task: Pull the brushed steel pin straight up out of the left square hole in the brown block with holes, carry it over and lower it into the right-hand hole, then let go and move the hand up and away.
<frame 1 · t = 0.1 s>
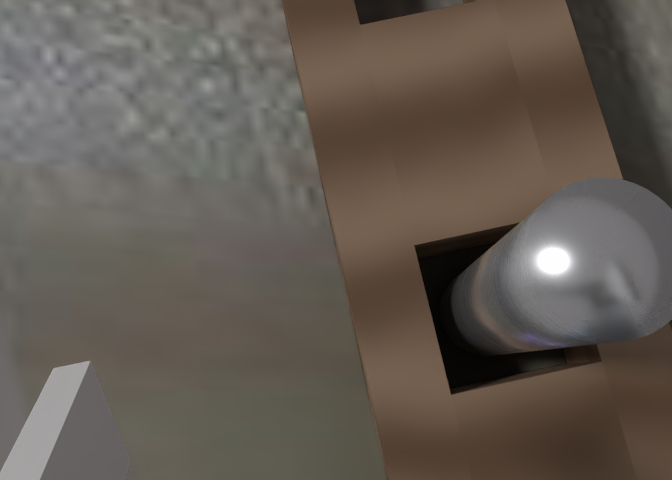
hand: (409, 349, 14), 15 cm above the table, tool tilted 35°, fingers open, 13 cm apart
brown block with holes: (441, 149, 31), on the table
steel pin: (484, 311, 29), resting in brown block with holes
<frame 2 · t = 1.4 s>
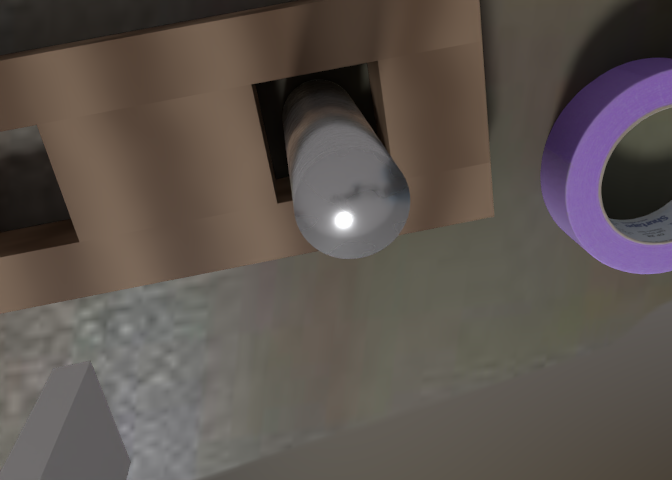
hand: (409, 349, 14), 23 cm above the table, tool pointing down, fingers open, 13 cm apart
brown block with holes: (173, 144, 34), on the table
steel pin: (319, 116, 34), resting in brown block with holes
masking tape: (632, 157, 38), on the table
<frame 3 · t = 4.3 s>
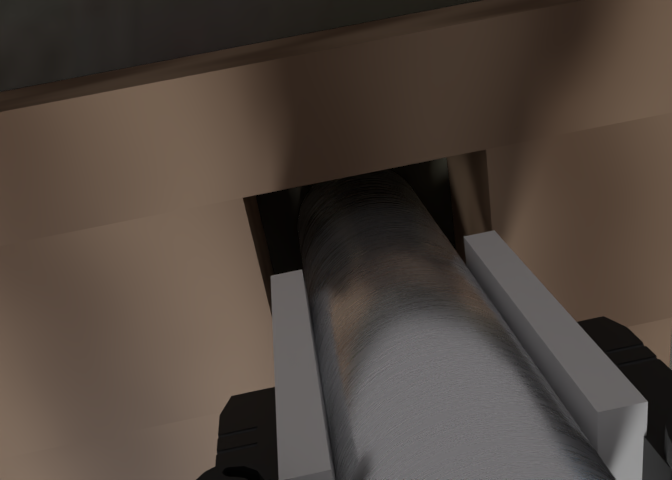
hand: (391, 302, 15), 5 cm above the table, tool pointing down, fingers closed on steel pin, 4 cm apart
brown block with holes: (110, 275, 20), on the table
steel pin: (360, 224, 20), resting in brown block with holes, touching gripper
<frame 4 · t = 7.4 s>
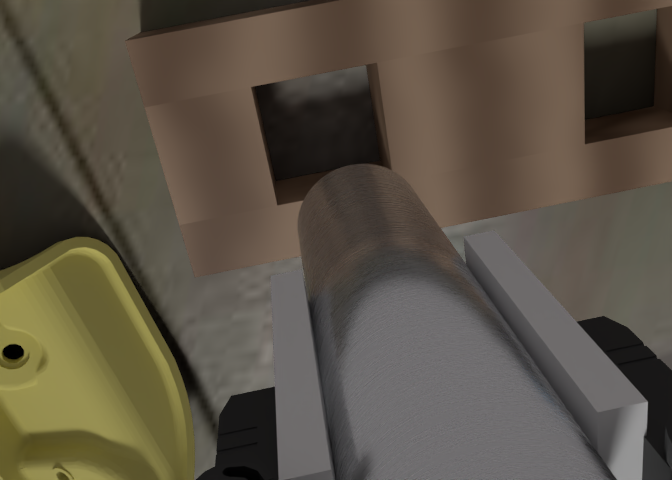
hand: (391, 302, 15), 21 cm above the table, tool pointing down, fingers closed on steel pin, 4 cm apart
brown block with holes: (461, 90, 35), on the table
steel pin: (360, 224, 20), point 16 cm above the table, touching gripper
plastic component: (79, 383, 40), on the table
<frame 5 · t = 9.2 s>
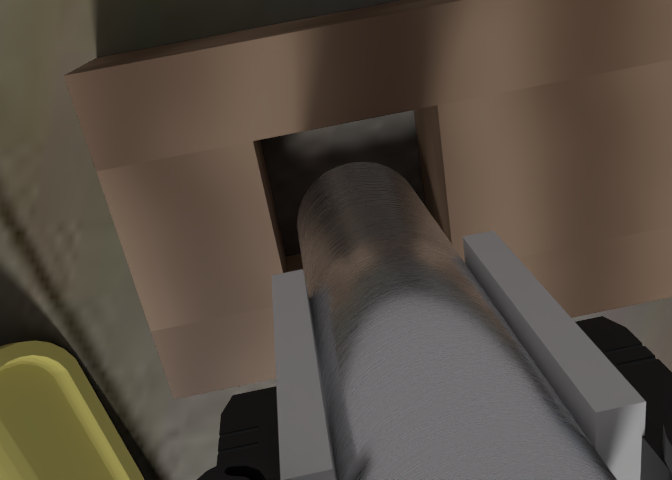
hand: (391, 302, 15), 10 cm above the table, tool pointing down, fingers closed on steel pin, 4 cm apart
brown block with holes: (542, 135, 25), on the table
steel pin: (359, 222, 20), point 5 cm above the table, touching gripper
when the fingers open (7 cm above the table, at t = 10.6 s): steel pin drops 1 cm, resting in brown block with holes.
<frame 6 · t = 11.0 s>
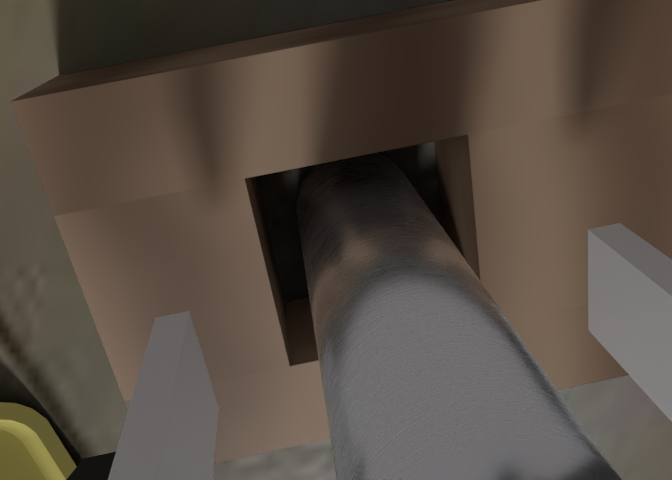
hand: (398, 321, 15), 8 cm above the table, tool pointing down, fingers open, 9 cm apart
brown block with holes: (581, 162, 22), on the table
steel pin: (355, 207, 22), resting in brown block with holes
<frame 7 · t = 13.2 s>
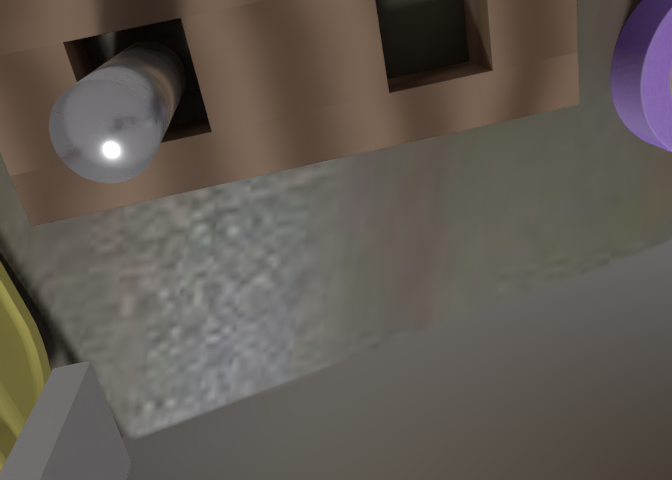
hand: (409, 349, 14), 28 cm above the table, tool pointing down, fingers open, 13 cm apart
brown block with holes: (284, 48, 37), on the table
steel pin: (150, 76, 37), resting in brown block with holes
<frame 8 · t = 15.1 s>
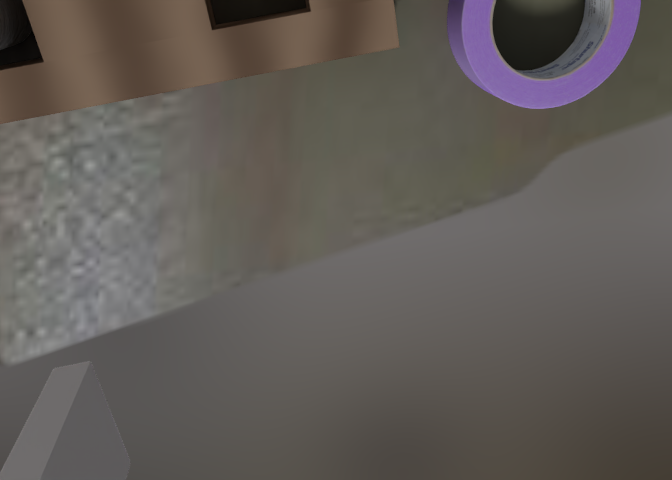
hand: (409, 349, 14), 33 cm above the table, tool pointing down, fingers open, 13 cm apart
masking tape: (528, 12, 44), on the table
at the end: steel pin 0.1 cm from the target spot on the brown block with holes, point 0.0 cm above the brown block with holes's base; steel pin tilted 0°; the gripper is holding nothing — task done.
